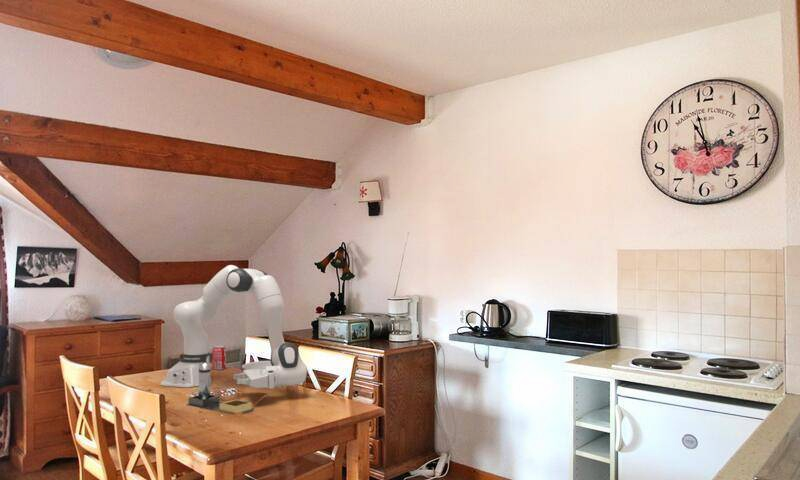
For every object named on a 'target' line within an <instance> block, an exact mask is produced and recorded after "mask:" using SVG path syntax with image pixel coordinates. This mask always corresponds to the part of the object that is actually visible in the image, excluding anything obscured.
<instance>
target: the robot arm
mask: <svg viewBox="0 0 800 480" xmlns="http://www.w3.org/2000/svg"><path fill="white" fill-rule="evenodd" d="M233 292H235V293H245V294H250V293H251V294H254V295H255V298H256V301H257V305H258V309H259V311H260V314H261V316H262V319H263V322H264V326H265V328H266V333H267V337H268V341H269V346H270V350H271V353H270V360H269V361H271V365H272V366H265V367H264V370H260V369H248V370H245V369H243V372H241V373H238V374H237V373H236V374H233V377H232V378H233V379H234V380H236V384H237V385H246V386H247V385H248V386H249V387H250V388H254V389H266V388H267V389H269V390H271V389H274V388H277V387H281V386H284V387H290V386H291V387H292V386H297V385H301V384H303V383H304V382H305V381H306V379H307V376H308V367H307V365H306V364H305V363H304V362H303V359H302V357H301V355H300V352H299V347H297V345H295V344H294V342H293V343H292V342H289V341H287V342H286V341H285V339H284V335H283V334H284V333H283V332H282V330H283V329H282V321H283V317H284V313H285V302H284V298H283V294H282V291H281V289H280V286H279V285H278V282H277V281H276V279H275V277H274V276H272V275H269V274H267V272H265V271H264V270H261V269H255V268H254V269H253V268H241V267H238V266H236V265H234V264H228V265H226V266H225V267H223V268H222V269H221V270H219V271H218V272H217V273H216V274H215V275H214V276H213V277H212V278H211V279H210V281H208V282H207V284H206V285H205V286H204V287H203V288H202V296H201V297H200V298H198V299H197V300H190V301H189V300H188V301H184V302H182V303H179V304H177V305H176V306H175V307H174V309H173V310H172V316H173V319H174V321H175V323H176V324H178V325H179V328H180V329H181V332H182V337H183V353H181V354H180V355H179V356H178V359H179V361H178V362H177V363H176V364H174V365H173V366H172V367H171V368H169V369H168V370H167V373H166V375H165V376H166V377H165V379H164V380H162V381H161V382H160V386H165V387H175V388H177V387H178V388H193V387H199V363H202V362H210V358H211V357H210V352H209V346H210V345H209V342H210V341H209V340H210V339H209V335H208V334H207V333H206V332H205V330H204V328H203V324H205V323H210V322H211V321H214V320H216V319H217V318H218V316H219V315H220V307H221V306H222V304H223V303H224V302H225V301H226V300H227V298H228V297H230V295H231V294H232V293H233ZM211 383H212V379H211V377H210V384H211Z"/></svg>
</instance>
